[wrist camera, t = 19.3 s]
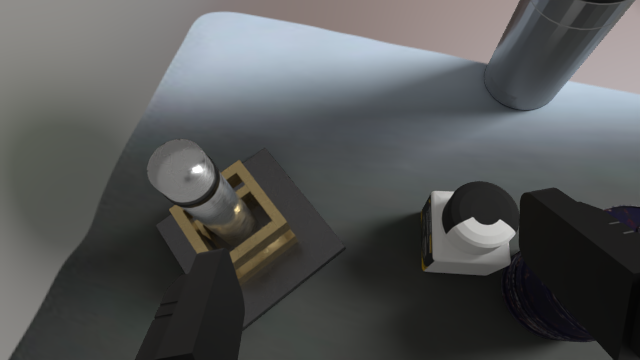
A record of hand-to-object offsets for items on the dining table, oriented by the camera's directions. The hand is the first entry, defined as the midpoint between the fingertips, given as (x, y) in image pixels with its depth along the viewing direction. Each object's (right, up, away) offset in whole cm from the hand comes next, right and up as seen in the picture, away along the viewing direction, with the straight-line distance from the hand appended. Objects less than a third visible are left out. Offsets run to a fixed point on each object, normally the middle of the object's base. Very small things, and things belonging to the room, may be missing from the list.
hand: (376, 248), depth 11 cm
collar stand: (-10, -5, +36) cm, 37 cm away
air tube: (-10, -5, +34) cm, 36 cm away
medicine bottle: (+14, -5, +34) cm, 37 cm away
